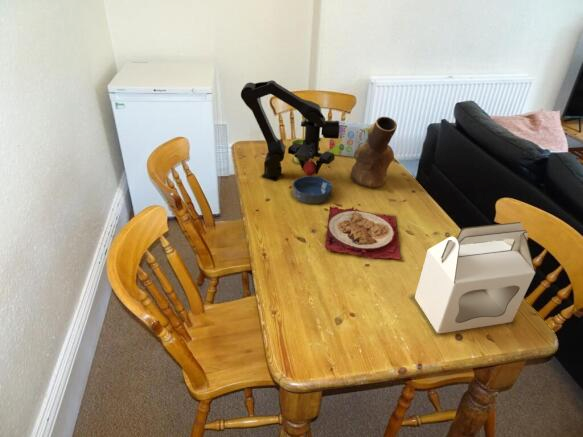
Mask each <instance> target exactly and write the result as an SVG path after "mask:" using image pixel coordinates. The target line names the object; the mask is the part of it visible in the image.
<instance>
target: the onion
mask: <svg viewBox="0 0 583 437" xmlns="http://www.w3.org/2000/svg"><path fill="white" fill-rule="evenodd" d="M315 171H316V161H313V159H309V161H307V162H306V163H305V164H304V166H303V170H302V172H303V173H304V175H306V176H315V175H316V174H315Z"/></svg>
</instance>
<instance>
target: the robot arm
mask: <svg viewBox="0 0 583 437" xmlns="http://www.w3.org/2000/svg"><path fill="white" fill-rule="evenodd" d="M269 95H271V96H273V97H275V98H277V99H278V100H280V101H282V102H283V103H285V104H286V105H288V106H290V107H292V108H293V109H295V110H297V112H299V113H300V115H301V116H302V117H303V118H304V120H302V121H301V122H300V127H303V128H304V138H303V139H304V140H303V144H302V145H301V144H297V143H294V144H293V145H291V144H290V146H288V148H286V147H287V146H286V145H285V144H284V141H283V138H280V139H279V138H277V135H276V134H275V132H274V128H273V127H272V125H271V122H270V120H269V119H268V115H267V114H266V112H265V109H264V108H263V104H262V99H261V98H263V97H265V96H269ZM240 98H241V99H242V101H243V102H244V104H245V106H246V107H247V108H248V109H249V110H250V111H251V112H252V114H253V116H254V119H255V121H256V123H257V125H258V127H259V129H260V132H261V134H262V136H263V138H264V140H265V142H266V146H267V153H266V155H265V159H264V163H263V167H264V168H263V172H264V173H263V174H262V175H261V177H262V178H264V179H268V180H271V181H275V182H276V181H277V180H278V179H279V178H281V177H282V176H283V175H284V174H283V172H282V171H283V167H282V163H281V162H283V160H284V159H285V153H286V149H287V154H288V155H293V158H294V157H296V158H298V160H299V162H300V167H301V170H302V171H303V166H304V164H305V163H306V162H307V161H309V160H310V159H311V160H314V159H315V158H317V160H316V161H315V164H316V171H315V174H314V175H315V176H316V175H318V173H319V172H320V170H321V168H322V166H323V164H324V165H330V164H331V163H332V162H333V161H335V158H336V155H334V153H331V152H329V151H327V150H326V151H324V152H319V151H320V150H321V147H320V142H321V140H322V138H323V139H330V138H332V139H338V138H339V121H340V120H336V121H333V120H326V117H325V115H324V114H323V112H322V107H321V106H320V104H318V103H317V102H314V101H312V100H307V99H305V98H301V96H298V95H296V94H295V93H293V92H292V91H290V90H288V89H287V88H285V87H284V86H282V85H281V84H279V83H277V82H276V81H275V80H272V79H271V80H268V81H259V82H246V83H245V85H243V87H242V89H241V92H240ZM320 134H321V136H322V138H321V136H320ZM294 154H295V155H294Z"/></svg>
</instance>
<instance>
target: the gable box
mask: <svg viewBox="0 0 583 437" xmlns="http://www.w3.org/2000/svg"><path fill="white" fill-rule="evenodd" d="M523 226H524V225H523V223H522V222H521V221H516V222H506V223H497V224H488V225H487V224H486V225H478V226H469V227H462V228H461V229H460V231H459V233H458V234H457V237H455V236H449V237H447V238H445V239H443V240H442V241H440V242H439V243H436V244H435V245H433V246H432V247H430V248H428V249H427V250H426V254H425V259H424V262H423V265H422V269H421V273H420V277H419V280H418V284H417V287H416V291H415V296H414V299H415V301H416V302H417V304H418V305H419V306H420V309H421V310H422V311H423V313H424V315H425V316H426V318H427V319H428V321H429V323H430V324H431V326H432V328H433V329H434V330H435V332H436V334H445V333H451V332H457V331H463V330H465V331H466V330H470V329H477V328H482V327H489V326H495V325H501V324H507V323H512V322H513V320H514V318H515V316H516V315H517V312H518V310H519V308H520V307H521V306H520V305H521V304H522V301H523V299H524V297H525V296H526V293H527V292H528V289H529V287H530V285H531V283H532V281H533V279H534V276H535V275H536V268H535V265H534V262H533V258H532V254H531V250H530V246H529V243H528V239H527V238H528V235H529V232H528V231H527V230H526V229H524V230H523ZM443 260H444V261H443Z"/></svg>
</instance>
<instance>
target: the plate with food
mask: <svg viewBox="0 0 583 437" xmlns="http://www.w3.org/2000/svg"><path fill="white" fill-rule="evenodd" d="M333 205H336V206H333V207H332V206H329V209H328V211H329V214H328V219H327V227H326V228H327V229H326V235H325V236H326V237H325V245H324V248H325V249H326V250H327V251H332V252H334V251H335V252H338V253H346V254H349V255H356V256H358V255H359V257H361V258H362V257H363V258H369V259H375V260H376V259H383V260H384V259H385V260H386V259H389V258H391V259H394V260H398V259H401V253H400V242H399V236H398V230H397V227H398V226H397V221H396V215H386V214H384V213H383V214H377V213H370V212H369V211H363V210H359V209H358V208H356V209H355V207H353V206H352V207H350V208H345V209H344V208H343V204H339V203H335V202H333ZM340 207H342V208H340Z"/></svg>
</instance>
